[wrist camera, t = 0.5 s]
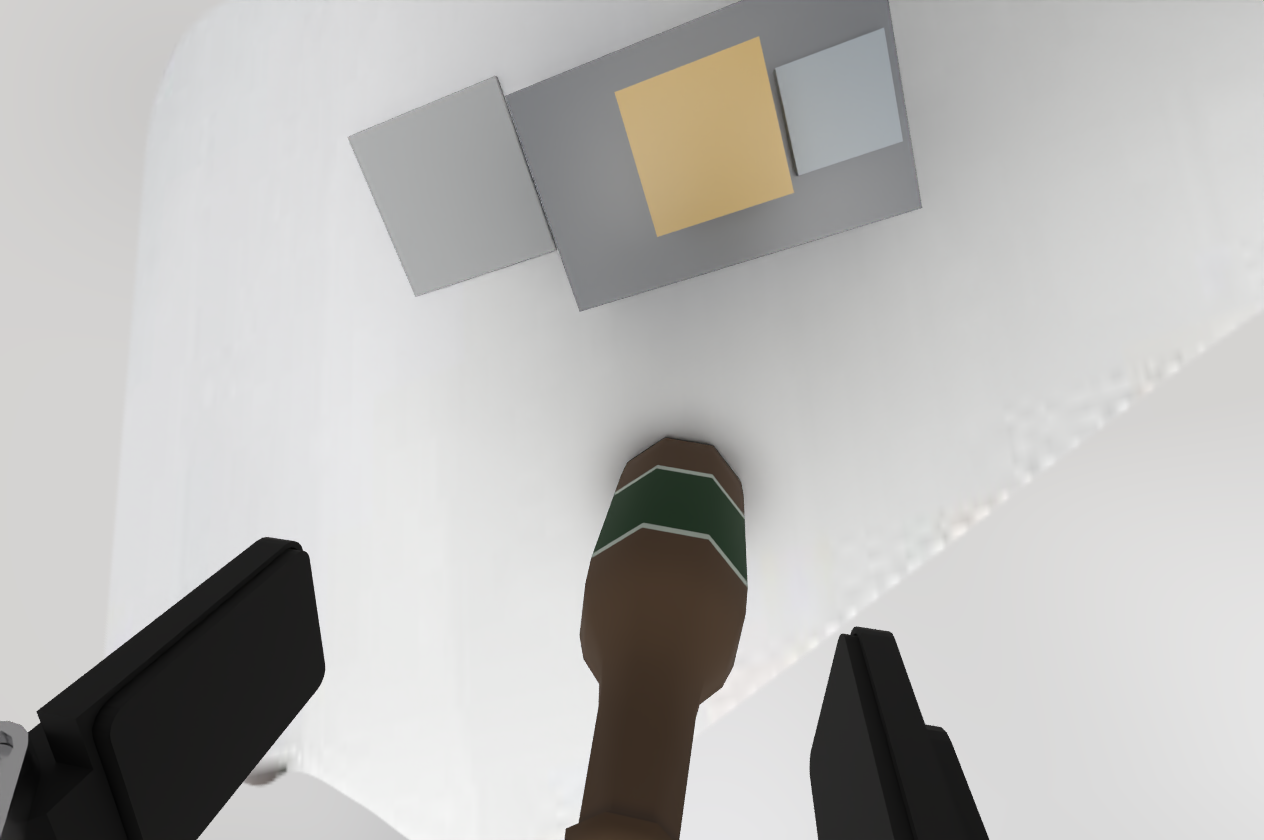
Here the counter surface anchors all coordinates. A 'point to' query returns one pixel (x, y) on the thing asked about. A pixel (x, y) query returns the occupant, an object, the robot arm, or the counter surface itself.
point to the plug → (706, 138)
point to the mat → (454, 188)
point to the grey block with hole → (809, 124)
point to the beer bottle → (659, 633)
